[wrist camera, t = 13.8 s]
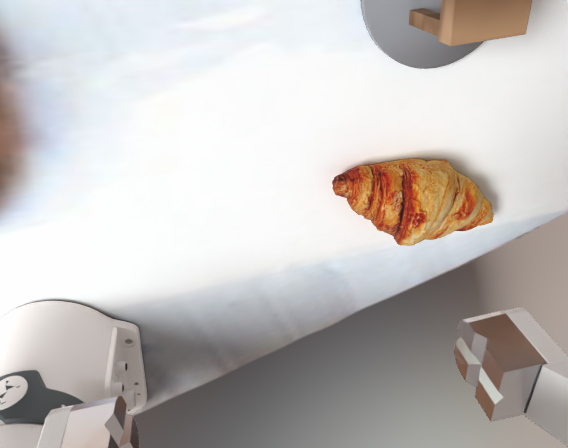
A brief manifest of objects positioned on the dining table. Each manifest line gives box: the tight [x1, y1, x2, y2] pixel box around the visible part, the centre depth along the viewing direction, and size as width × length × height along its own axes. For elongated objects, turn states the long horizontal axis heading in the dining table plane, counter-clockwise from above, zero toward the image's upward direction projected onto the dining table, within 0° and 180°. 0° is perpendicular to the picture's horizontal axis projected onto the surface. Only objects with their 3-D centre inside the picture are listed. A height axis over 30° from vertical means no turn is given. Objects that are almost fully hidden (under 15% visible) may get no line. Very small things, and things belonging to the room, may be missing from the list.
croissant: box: [332, 159, 493, 246], centre depth 48 cm, size 21×10×8 cm, turn 73°
